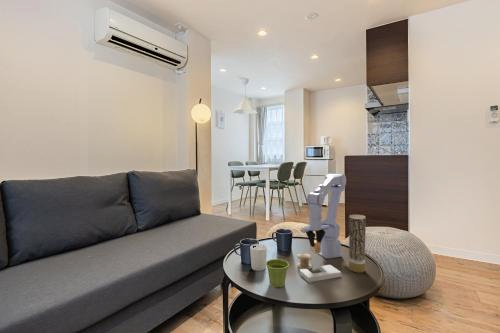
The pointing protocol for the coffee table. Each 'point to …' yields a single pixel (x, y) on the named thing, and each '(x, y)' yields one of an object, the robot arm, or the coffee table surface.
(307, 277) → the board
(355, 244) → the bark textured cylinder
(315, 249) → the block
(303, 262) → the bobbin
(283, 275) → the plant pot
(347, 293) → the coffee table surface
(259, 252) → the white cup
